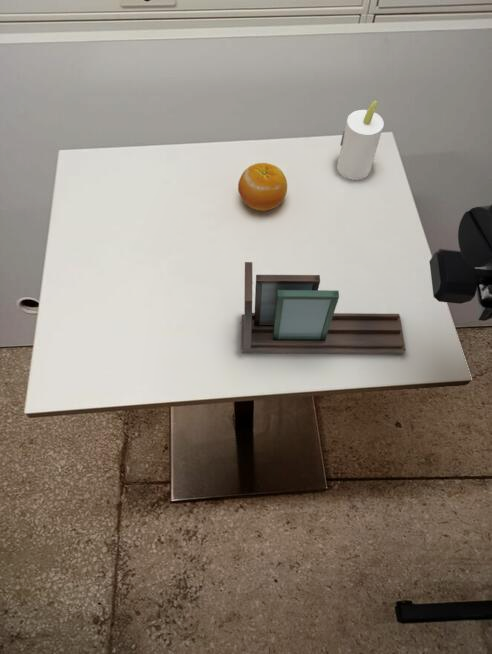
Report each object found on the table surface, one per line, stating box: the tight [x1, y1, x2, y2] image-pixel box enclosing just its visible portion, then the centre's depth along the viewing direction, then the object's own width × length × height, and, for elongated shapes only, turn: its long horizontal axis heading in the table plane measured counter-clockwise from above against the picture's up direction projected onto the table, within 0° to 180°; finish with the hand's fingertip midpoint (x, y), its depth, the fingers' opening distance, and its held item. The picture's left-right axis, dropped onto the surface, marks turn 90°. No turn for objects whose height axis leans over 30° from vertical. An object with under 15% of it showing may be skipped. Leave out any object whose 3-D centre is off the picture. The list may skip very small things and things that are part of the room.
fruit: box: [237, 162, 288, 212], centre depth 89 cm, size 8×8×8 cm
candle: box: [336, 99, 385, 181], centre depth 89 cm, size 6×6×15 cm
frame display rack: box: [240, 261, 406, 355], centre depth 72 cm, size 25×6×16 cm, turn 90°
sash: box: [273, 289, 340, 341], centre depth 71 cm, size 8×1×13 cm, turn 90°
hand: (480, 317), depth 65 cm, fingers closed
